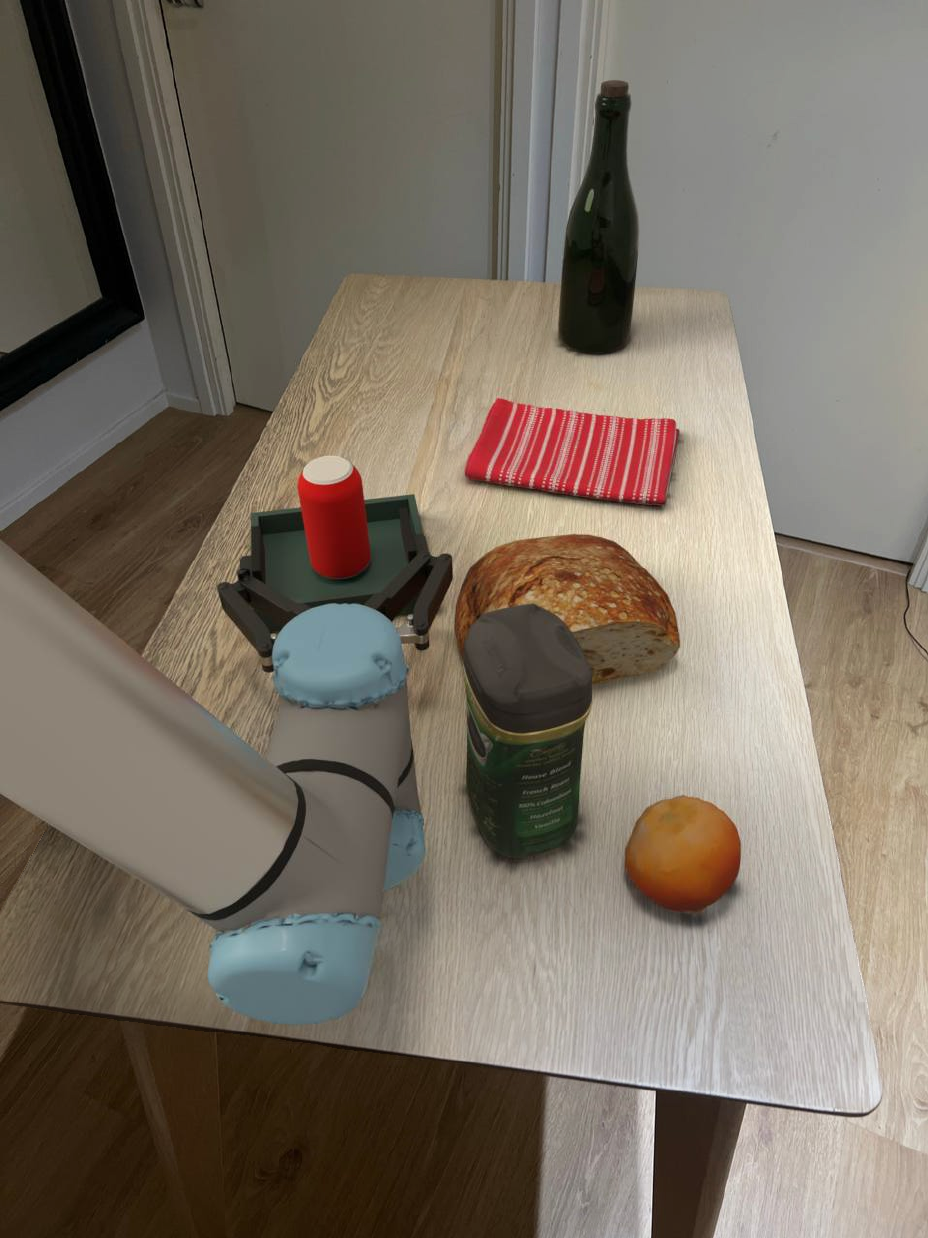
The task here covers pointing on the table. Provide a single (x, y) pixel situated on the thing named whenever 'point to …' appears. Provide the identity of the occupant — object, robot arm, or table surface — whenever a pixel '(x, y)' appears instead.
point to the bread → (578, 599)
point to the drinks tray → (304, 585)
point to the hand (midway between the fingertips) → (331, 528)
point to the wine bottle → (602, 237)
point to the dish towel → (575, 453)
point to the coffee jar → (525, 728)
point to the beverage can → (334, 517)
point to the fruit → (683, 854)
